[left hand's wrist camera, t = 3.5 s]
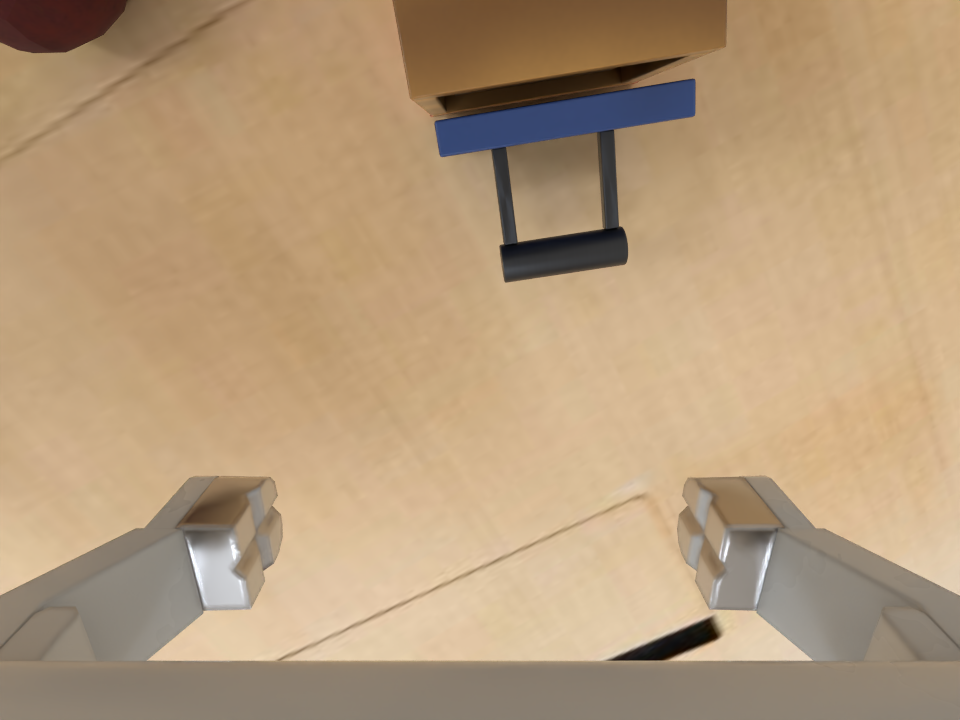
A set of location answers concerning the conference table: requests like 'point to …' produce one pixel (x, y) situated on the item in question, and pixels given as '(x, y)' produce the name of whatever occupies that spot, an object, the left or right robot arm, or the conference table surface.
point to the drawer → (552, 124)
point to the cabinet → (545, 46)
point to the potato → (55, 23)
